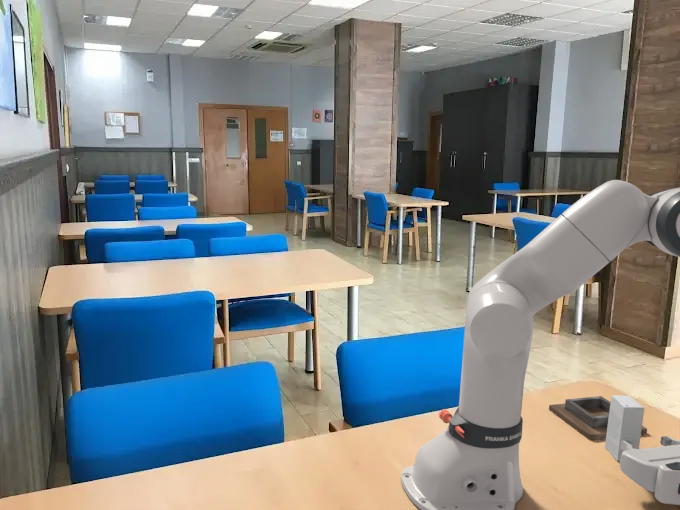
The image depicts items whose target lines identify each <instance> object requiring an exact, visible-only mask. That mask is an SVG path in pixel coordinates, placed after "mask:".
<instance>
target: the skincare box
mask: <svg viewBox="0 0 680 510" xmlns="http://www.w3.org/2000/svg"><path fill="white" fill-rule="evenodd" d="M610 402H611V404H610V411H609V419H608V427H607V434H606V438H605V442H604V448H605V449H606V450H607V451H608V452H609V454H610V455H611V456H612V457H613V458H614V459H615V460H616V461H617V462H620V460H621V454H622V452H623V450H622V449H621V447H620V446H621V441H627V440H629V441H630V442H632V443H633V444H634V447H633V449H640V445H641V444H640V443H641V436H642V434H641V430H642V426H643V423H644V422H643V420H644V413H645V406H643V405H642V404H640V403H639V402H638V401H637V400H635V399H634V398H633V397H632V396H631V395H619V394H618V395H617V394H616V395H615V394H614V395H613V394H612V395H611V397H610Z"/></svg>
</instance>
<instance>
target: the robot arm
mask: <svg viewBox="0 0 680 510" xmlns="http://www.w3.org/2000/svg"><path fill="white" fill-rule="evenodd" d="M641 242H647V243H648V244H650V245H651V246H654V247H656V248H658V249H659V250H660V251H662V252H664V253H666V254H668V255H671V256H674V257H677V258H680V186H679V187H674V188H671V189H665V190H662V191H658V192H654V193H649V194H646V193H644V192H643V191H642V190H641V189H640V188H639V187H637V186H636V185H634V184H633V183H631V182H628V181H625V180H622V179H621V180H620V179H612V180H608V181H606V182H604V183H602V184H601V185H599V186H597V187H595V188H594V189H592V190H591V191H589V192H588V193H587V194H585V195H584V196H582V197H581V198H580V199H578V200H577V201H576V202H574V203H573V204H571V205H570V206H569V207H568V208H567V209H565V210H564V211H563V212H562V213H561V214H560V215H559V216H557V217H556V218H555V219H554V220H553V221H552V222H550V223H549V225H547V226H546V227H545V228H544V229H543V230H542V231H541V232H539V234H537V235H536V236H535V237H533V239H531V240H530V241H529V242H528V243H527V244H525V245H524V246H523V247H522V248H520V249H519V250H518V251H516V252H515V253H513V254H512V255H511V256H509V257H508V258H507V259H505V260H504V261H502V262H501V263H500V264H498V265H497V266H496V267H494V268H493V269H492V270H490V271H489V272H488V273H487V274H485V275H484V276H483V277H481V279H479V280H478V281H477V282H476V283H475V284H474V285H473V286H472V287H471V289H470V291H469V292H468V296H467V300H466V302H467V303H466V309H465V321H464V322H465V323H464V331H463V332H464V333H463V334H464V335H463V349H462V361H461V362H462V363H461V373H460V374H461V375H460V387H459V389H460V390H459V401H458V407H457V409H456V410H455V412H454V413H453V415H452V413H450V412H449V410H448V409H446V408H443V409H442V410H440V411H439V413H438V417H439V419H440V420H442V422H443V423H445V424H449V425H448V426H447V427H448V428H446V429H444V430H443V431H442V432H440V433H439V434H437V436H435V437H434V438H432V439H430V440H429V441H427V442H426V443H424V444H423V445H421V447H420V448H419V449H418V451H417V452H416V456H415V458H414V459H415V460H414V462H413V463H414V464H413V465H409V466H405V467H404V468H403V469H402V471H401V475H400V481H401V485H402V488H403V490H404V492H405V494H406V495H407V496H408V498H409V500H411V502H412V503H413V504H414V505H415V506H416V507H417V508H418V509H420V510H516V504H517V502H519V501H520V500H521V498H522V497H523V494H524V488H523V484H522V478H521V471H520V470H521V469H520V457H519V456H520V443H521V440H522V436H523V435H522V434H523V423H524V421H523V420H524V419H523V417H522V409H523V408H522V407H523V397H524V389H525V387H524V386H525V379H526V374H527V373H526V372H527V368H528V363H529V357H530V353H531V347H532V346H531V345H532V340H533V331H534V326H535V325H534V324H535V323H534V315H535V314H537V313H538V312H539V311H541V310H543V309H544V308H545V307H547V306H549V305H550V304H552V303H553V302H556V301H558V300H559V299H561V298H563V297H566V296H569V295H571V294H573V293H575V292H576V291H577V290H579V288H580V287H582V286H583V285H584V284H585V283H587V282H588V281H589V280H590V279H591V278H592V277H594V275H596V274H598V272H600V271H601V270H602V269H603V268H604V267H606V266H607V265H608V264H610V262H611V261H613V260H614V259H615V258H616V257H617V256H619V255H620V253H622V252H623V251H624V250H626V249H627V248H629V247H630V246H632V245H635V244H637V243H641ZM659 442H660V445H662V446H656V447H655V446H654V447H647V448H639V449H633V447H634V444H633V443H632V442H630V441H629V440H627V441H621V446H620V447H621V449H622V450H623V452H622V454H621V460H620V461H619V463H620V464H619V468H620V471H621V472H622V473H623V474H624V475H625V477H627V478H628V479H630V480H631V481H633V482H634V483H635V484H637V485H638V486H640V487H641V488H642V489H644V490H645V491H648V492H651V493H654V498H655V499H656V500H657V501H658V502H660V503H662V504H666V505H675V506H676V505H677V506H680V440H679V439H675V438H673V437H671V436H669V435H666V436H665V435H663V436H661V437H660V441H659Z"/></svg>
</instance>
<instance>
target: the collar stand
mask: <svg viewBox="0 0 680 510" xmlns="http://www.w3.org/2000/svg"><path fill="white" fill-rule="evenodd" d="M610 404H611V400H608V399H607V398H605V397H604V396H601V395H600V396H587V397H586V396H585V397H577V398H567V399H565V402H564V403H557V404H549V407H548V410H549V411H550V412H551V411H552V412H551V413H553V414H554V415H555V414H556V415H555V416H557V417H558V418H560V419H561V420H562V421H563V422H565V423H566V424H567V425H569V426H570V427H571V428H573V429H574V430H575V431H577V432H578V433H580V434H581V435H582V436H583V437H585V438H586V439H588V440H589V441H593V440H603V439H606V434H607V427H608V419H609V411H610ZM647 432H648V428H647V427H646V426H643V425H642V430H641V435H645V434H647Z"/></svg>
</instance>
